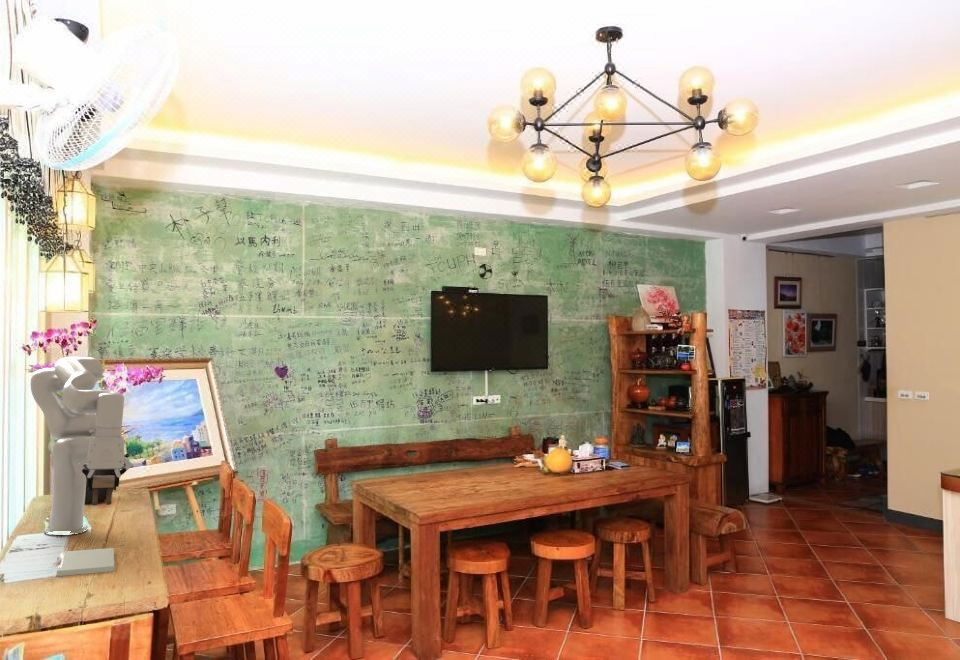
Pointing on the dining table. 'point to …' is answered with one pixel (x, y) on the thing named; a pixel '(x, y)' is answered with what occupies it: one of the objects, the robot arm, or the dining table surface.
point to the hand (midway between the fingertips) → (102, 489)
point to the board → (87, 562)
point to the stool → (103, 483)
